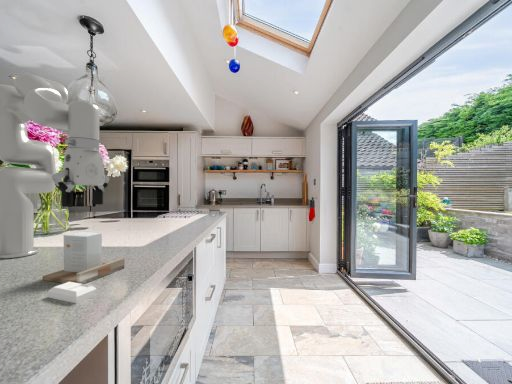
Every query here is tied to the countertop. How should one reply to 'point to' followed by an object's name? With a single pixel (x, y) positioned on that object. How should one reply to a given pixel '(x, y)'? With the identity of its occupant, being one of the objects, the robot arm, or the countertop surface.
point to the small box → (82, 251)
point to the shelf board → (86, 273)
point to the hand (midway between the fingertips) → (83, 205)
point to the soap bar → (72, 292)
